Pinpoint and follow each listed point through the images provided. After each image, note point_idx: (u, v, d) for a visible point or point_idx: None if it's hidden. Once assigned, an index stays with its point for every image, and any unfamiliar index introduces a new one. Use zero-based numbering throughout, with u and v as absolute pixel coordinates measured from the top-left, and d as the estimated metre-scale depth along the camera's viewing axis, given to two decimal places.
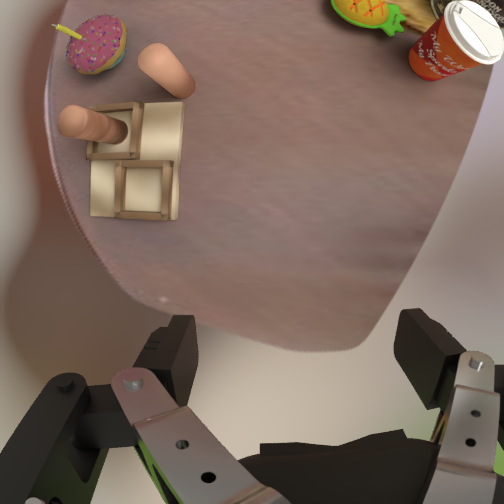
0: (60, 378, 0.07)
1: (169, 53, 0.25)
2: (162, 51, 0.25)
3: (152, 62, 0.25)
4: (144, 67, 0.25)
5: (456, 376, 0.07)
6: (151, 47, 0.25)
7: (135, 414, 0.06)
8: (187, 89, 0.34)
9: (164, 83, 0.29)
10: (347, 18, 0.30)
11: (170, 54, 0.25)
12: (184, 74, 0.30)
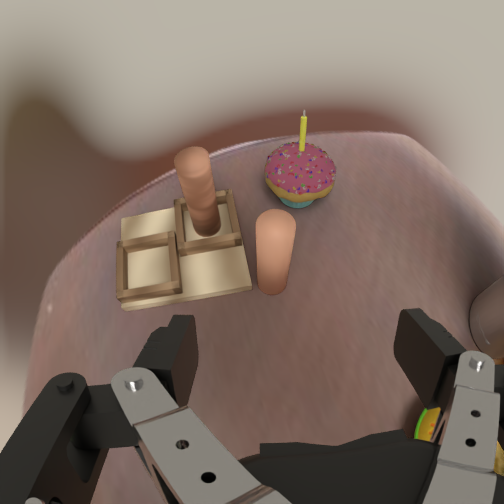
0: (61, 378, 0.07)
1: (285, 240, 0.25)
2: (286, 232, 0.25)
3: (269, 225, 0.26)
4: (262, 219, 0.26)
5: (456, 376, 0.07)
6: (289, 218, 0.26)
7: (135, 414, 0.06)
8: (265, 285, 0.33)
9: (256, 252, 0.29)
10: (418, 428, 0.24)
11: (284, 242, 0.25)
12: (276, 273, 0.30)
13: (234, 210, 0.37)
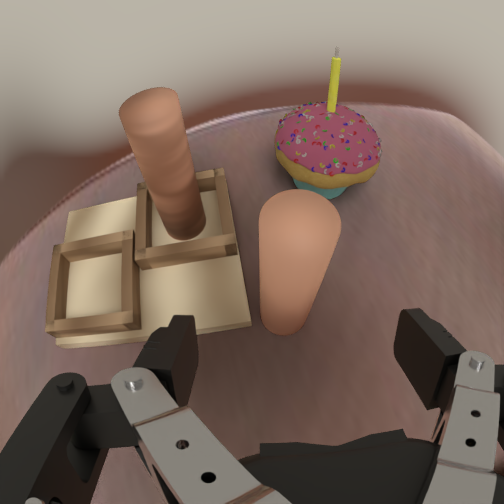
0: (60, 378, 0.07)
1: (320, 253, 0.12)
2: (321, 235, 0.12)
3: (287, 220, 0.12)
4: (272, 207, 0.13)
5: (456, 376, 0.07)
6: (326, 208, 0.13)
7: (135, 414, 0.06)
8: (274, 323, 0.19)
9: (260, 272, 0.16)
10: None
11: (318, 257, 0.12)
12: (295, 309, 0.17)
13: (226, 199, 0.23)
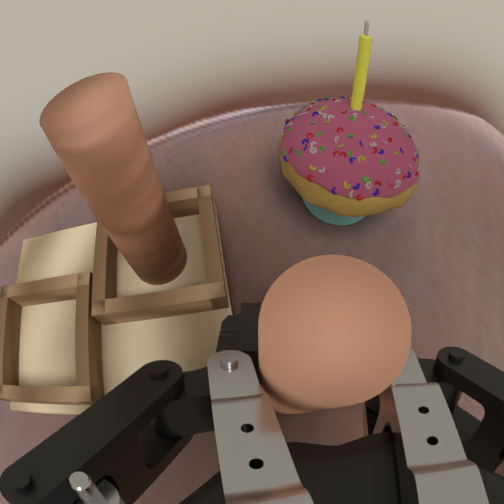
0: (156, 364, 0.08)
1: (374, 392, 0.06)
2: (378, 355, 0.06)
3: (315, 326, 0.06)
4: (284, 297, 0.06)
5: None
6: (386, 295, 0.06)
7: (245, 391, 0.07)
8: (277, 410, 0.13)
9: None
10: None
11: None
12: None
13: (213, 230, 0.17)
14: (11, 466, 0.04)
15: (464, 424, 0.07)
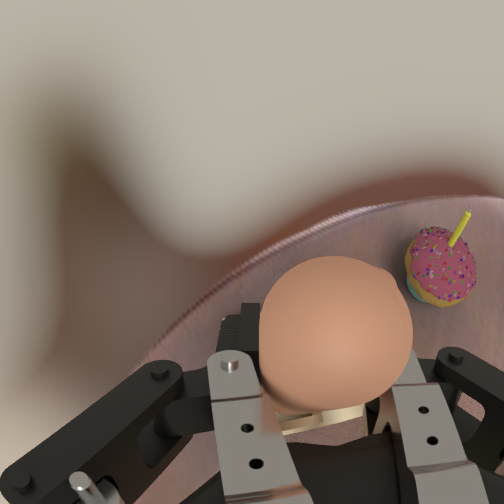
0: (156, 364, 0.08)
1: (375, 394, 0.05)
2: (379, 357, 0.06)
3: (316, 328, 0.06)
4: (285, 299, 0.06)
5: None
6: (387, 297, 0.06)
7: (245, 391, 0.07)
8: (278, 410, 0.13)
9: (260, 373, 0.09)
10: None
11: None
12: None
13: None
14: (12, 466, 0.04)
15: (464, 424, 0.07)
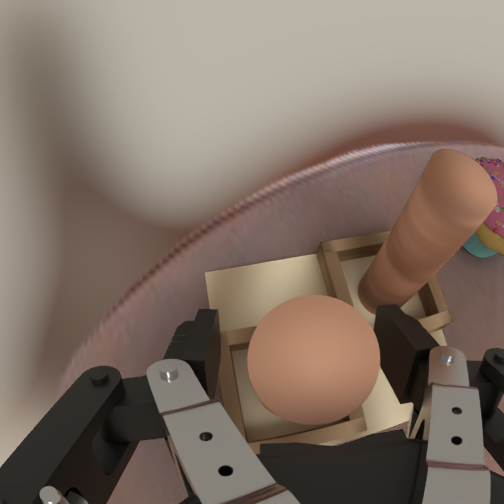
0: (95, 371, 0.07)
1: (344, 413, 0.07)
2: (348, 383, 0.07)
3: (295, 359, 0.07)
4: (270, 334, 0.08)
5: (429, 373, 0.07)
6: (359, 331, 0.07)
7: (175, 403, 0.07)
8: None
9: None
10: None
11: None
12: None
13: None
14: None
15: (500, 427, 0.06)
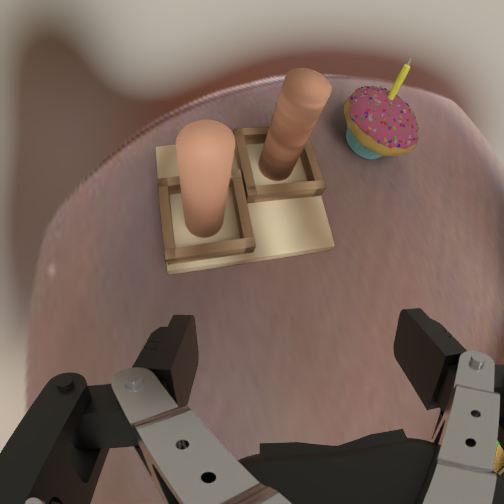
0: (60, 378, 0.07)
1: (216, 164, 0.16)
2: (219, 152, 0.16)
3: (196, 141, 0.16)
4: (186, 132, 0.17)
5: (456, 376, 0.07)
6: (226, 134, 0.17)
7: (135, 414, 0.06)
8: (193, 225, 0.24)
9: None
10: None
11: (215, 167, 0.16)
12: (206, 211, 0.21)
13: (312, 152, 0.29)
14: None
15: None
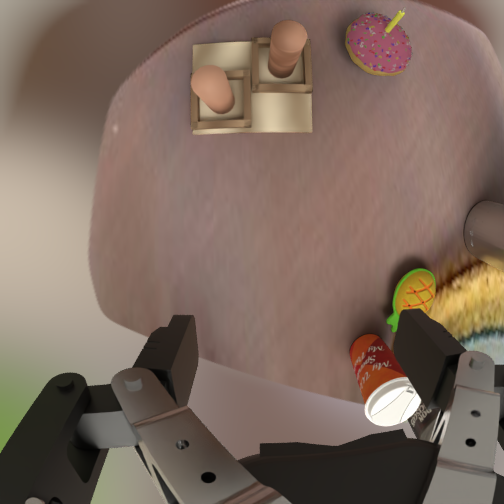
0: (60, 378, 0.07)
1: (213, 96, 0.26)
2: (215, 89, 0.26)
3: (203, 80, 0.25)
4: (198, 73, 0.25)
5: (456, 376, 0.07)
6: (222, 76, 0.25)
7: (135, 414, 0.06)
8: None
9: None
10: (400, 283, 0.40)
11: (213, 97, 0.26)
12: (215, 107, 0.31)
13: (310, 62, 0.33)
14: None
15: None
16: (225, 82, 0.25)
